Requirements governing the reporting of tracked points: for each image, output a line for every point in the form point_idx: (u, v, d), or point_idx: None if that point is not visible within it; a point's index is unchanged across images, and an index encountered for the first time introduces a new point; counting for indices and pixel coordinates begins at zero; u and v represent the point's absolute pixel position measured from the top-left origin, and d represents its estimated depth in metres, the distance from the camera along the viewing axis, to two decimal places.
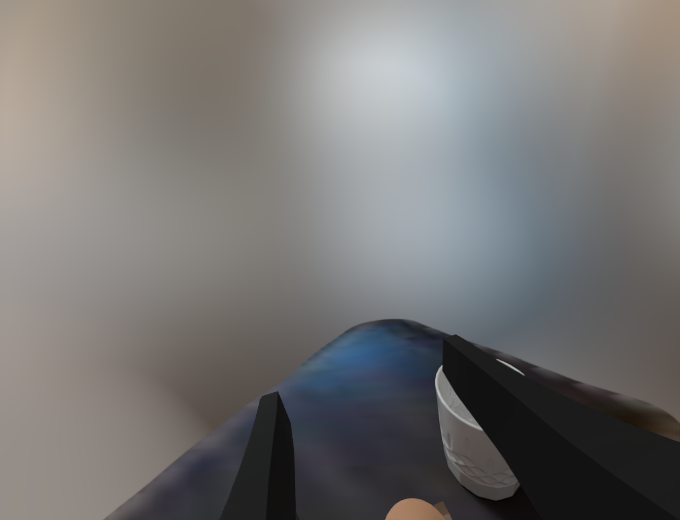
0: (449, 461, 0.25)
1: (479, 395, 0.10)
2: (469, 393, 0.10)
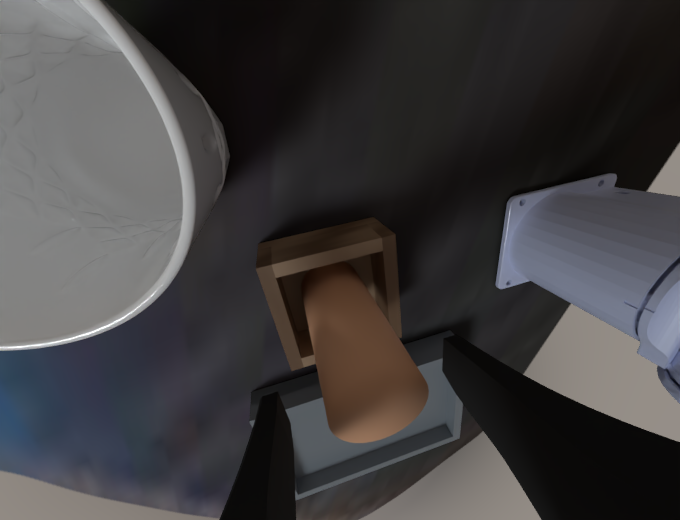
0: None
1: (479, 395, 0.10)
2: (469, 393, 0.10)
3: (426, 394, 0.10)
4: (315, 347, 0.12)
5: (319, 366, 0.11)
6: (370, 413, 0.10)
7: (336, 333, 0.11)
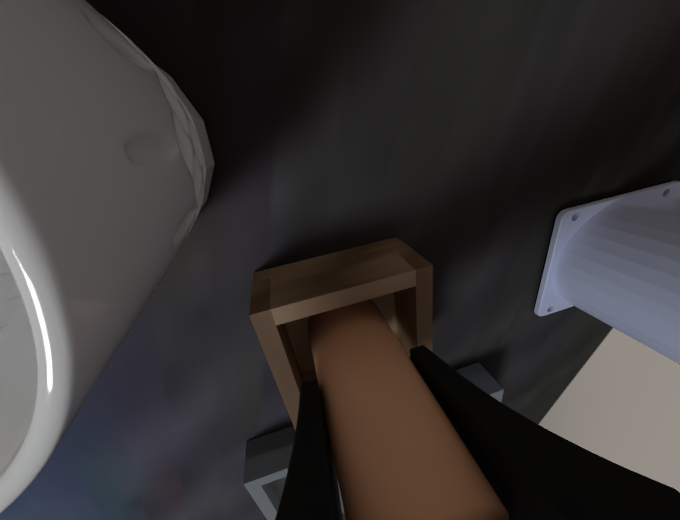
0: None
1: None
2: None
3: None
4: (332, 432, 0.09)
5: (340, 471, 0.08)
6: None
7: (364, 422, 0.08)
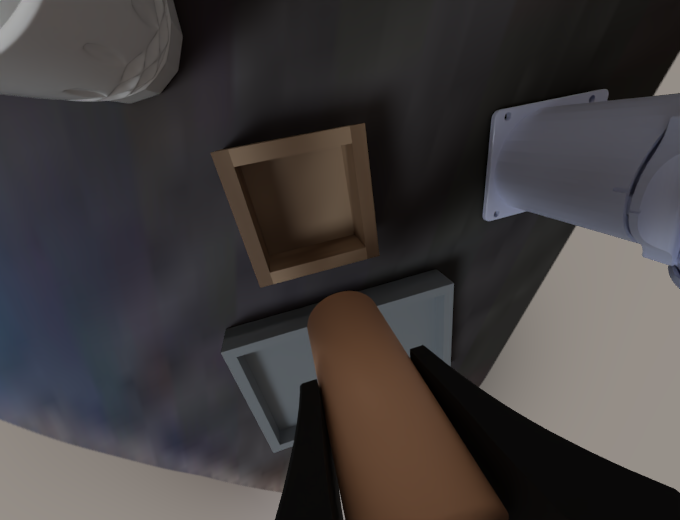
0: (122, 100, 0.12)
1: None
2: None
3: None
4: (331, 432, 0.09)
5: (339, 470, 0.08)
6: None
7: (364, 421, 0.08)
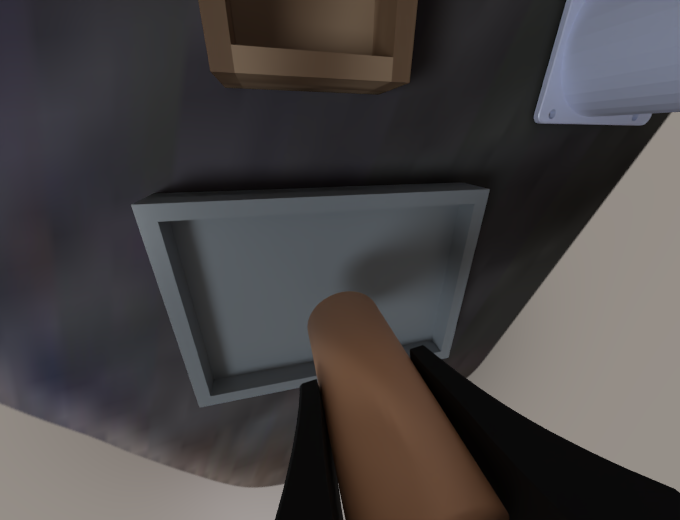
0: None
1: None
2: None
3: None
4: (331, 432, 0.09)
5: (339, 471, 0.08)
6: None
7: (364, 422, 0.08)
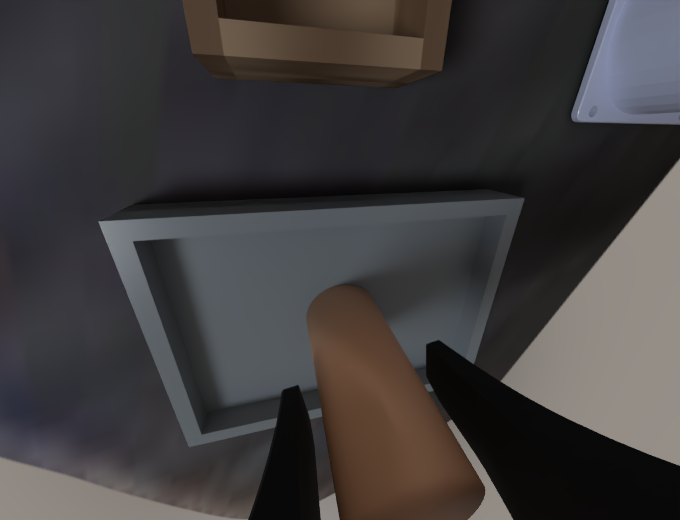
0: None
1: (459, 402, 0.09)
2: (450, 400, 0.10)
3: (481, 498, 0.07)
4: (324, 413, 0.09)
5: (330, 446, 0.08)
6: None
7: (354, 402, 0.08)
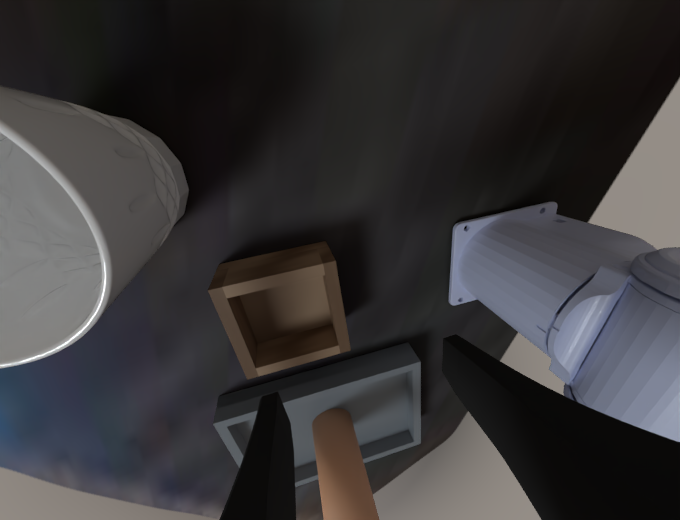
0: None
1: (479, 395, 0.10)
2: (469, 393, 0.10)
3: None
4: (321, 497, 0.21)
5: (323, 515, 0.20)
6: None
7: (330, 497, 0.20)
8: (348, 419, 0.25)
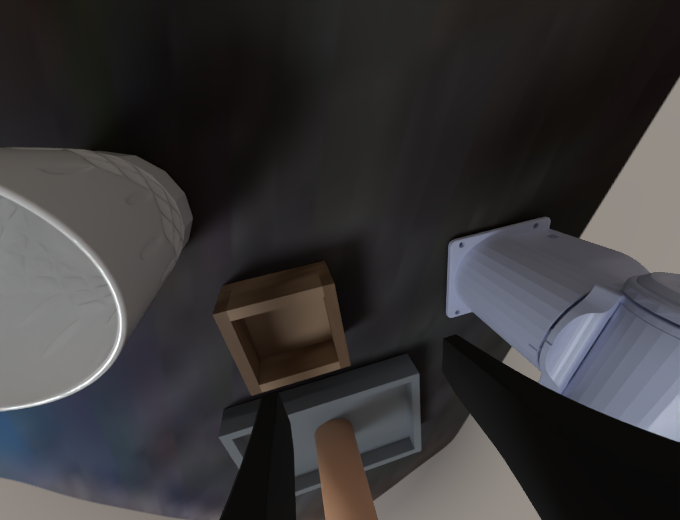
0: None
1: (479, 395, 0.10)
2: (469, 393, 0.10)
3: None
4: (324, 507, 0.21)
5: None
6: None
7: (333, 507, 0.20)
8: (349, 429, 0.26)
